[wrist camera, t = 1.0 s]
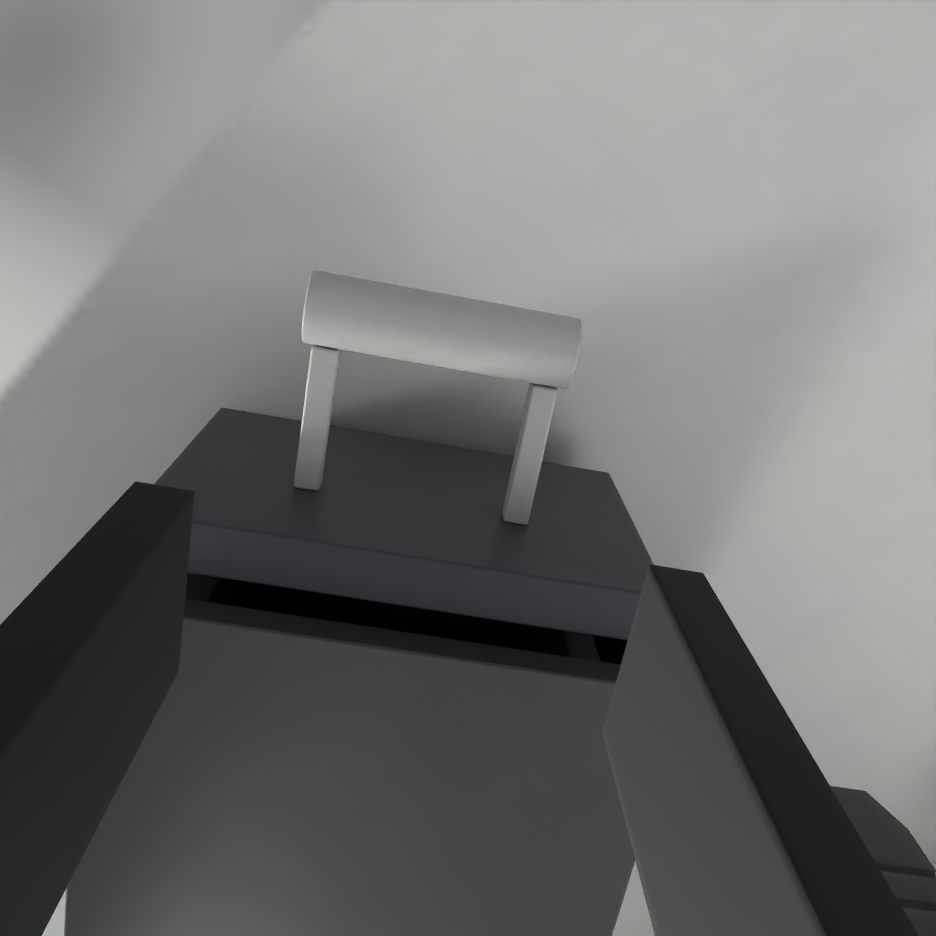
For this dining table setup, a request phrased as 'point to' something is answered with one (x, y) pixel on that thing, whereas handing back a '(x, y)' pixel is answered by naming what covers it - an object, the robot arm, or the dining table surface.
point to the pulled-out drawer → (414, 492)
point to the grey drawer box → (362, 790)
